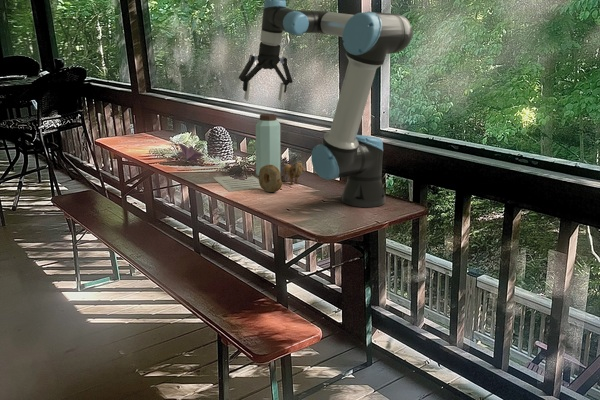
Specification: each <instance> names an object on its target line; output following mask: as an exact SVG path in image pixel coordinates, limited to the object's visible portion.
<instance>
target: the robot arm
mask: <svg viewBox="0 0 600 400" xmlns="http://www.w3.org/2000/svg"><path fill="white" fill-rule="evenodd" d="M262 10H263V11H262V19H261V20H262V21H261V30H260V38H259V39H260V40H259V41H260V42H259V47H258V55H253V54H250V55H249V57H248V61H247V63H246V64H245V66H244V68H243V70H242V71H241V72H240V75H239V76H238V79H239V80H240V82H243V84H242V90H243V92H244V95H243V96H244V97H243V98H244V100H245V101H247V102H249V97H250V87H251V83H250V81H251V80H252V79H253V77H255V76H256V75H257V74H258V73H259V71H261V70H274V71H275V72H276V74H277V75H278V77H279V79H280V80H281V82H280V84H279V93H278V100H279V102H281V103H282V102H284V96H285V93H286V92H287V88H288V85H289V84H292V83H293V78H292V75H291V73H290V69H289V66H288V58H287V57H285V56H282V57H280V54H281V53H280V52H281V45H280V44H282V39H283V38H282V36H283V32H286V33H288V34H290V35H292V36H302V35H303V34H320V35H327V36H329V35H330V36H335V37H341V38H342V39H341V40H342V41H343V42H342V44H343V48H344V49H345V51H346V52H345V57H346V58H347V59H348V63H347V68H346V71H345V75H344V77H343V82H342V85H341V89H340V91H339V96H338V100H337V104H336V108H335V112H334V115H333V118H332V122H331V126H330V130H329V131H327V132H325V133H324V134H323V139H322V141H321V142H322V143H321V144H320V143H319V144H317V145H316V146H314V147H313V149H312V150H311V158H310V159H311V164H312V167H313V170H314V172H315V173H316V175H318V177H320V178H321V179H323V180H336V179H340V178H345V177H346V178H347V179H346V180H347V181H346V183H345V186H344V189H343V192H342V195H341V202H342V203H343V204H345V205H347V206H352V207H357V208H358V207H359V208H375V207H380V206H383V205H385V204H386V194H385V189H384V185H383V182H382V174H383V173H382V172H383V157H384V156H383V155H384V143H383V140H382V139H381V138H379V137H377V136H376V137H375V136H370V135H365V134H364V135H362V134H358V133H359V129H360V126H361V121H362V118H363V117H364V111H365V108H366V106H367V105H366V104H367V102H368V99H369V95H370V91H371V88H372V85H373V82H374V79H375V76H376V72H377V69H378V68H380V67H382V66H383V65H384V62H385V60H386V56H387V55H389V54H391V55H392V54H396V53H399V52H402V51H404V50H405V49H406V48H407V47H408V46H409V45H410V43H411V40H412V38H413V27H412V24H411V22H410V21H409V19H408V18H406V17H405V16H404V15H402V14H400V13H394V12H391V13H389V12H388V13H387V12H373V11H365V12H358V13H355V14H348V13H340V12H334V11H333V12H332V11H327V10H305V9H292V8H288V7H287V2H286V0H264V4H263V7H262ZM256 61H257V63H256V65H254V63H255V62H256ZM279 63H280V64H282V65H281V66H282V68H283V71H284V75H285V76H284V75H283V73H282V71H281V69H280V68H279V66H278V64H279ZM253 65H254V67H253V68H252V66H253ZM251 68H252V69H251Z"/></svg>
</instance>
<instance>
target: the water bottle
mask: <svg viewBox="0 0 600 400" xmlns="http://www.w3.org/2000/svg"><path fill="white" fill-rule="evenodd" d="M265 165H274V166H276V167H277V168H278V169H279V171H280V172H281V123H280V122H279V121H278V119H277V114H275V113H273V114H272V113H264V114H259V120H258V121H257V123H255V174H256V176H257V177H258V176H259V172H260V169H261V168H262V167H263V166H265Z"/></svg>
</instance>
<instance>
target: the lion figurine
mask: <svg viewBox="0 0 600 400" xmlns="http://www.w3.org/2000/svg"><path fill="white" fill-rule="evenodd" d="M306 170H307V169H306V167H304V166H303V165H302V162H296V163H293V164H290V163H289V164H288V163H287V164H285V165H284V167H283V175H282V176H280V178H281V179H283V181H282V182H283V183H286V182H287V180H290V181H289V186H294V184H295V185H299V182H298V180H299V178H300V176H301V175H302V173H303V174H304V173H305V171H306ZM286 179H287V180H286ZM293 179H294V180H293ZM293 181H294V183H293Z"/></svg>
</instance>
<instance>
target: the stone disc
mask: <svg viewBox="0 0 600 400" xmlns="http://www.w3.org/2000/svg"><path fill="white" fill-rule="evenodd" d="M258 180H259V184H260V186H261V188H260V189H262V190H263V191H264V192H267V193H276V192H278V191H280V190H281V189H282V186H283V183H284V182H283V181H282V178H281V170H280V171H279V169H278V168H277V167H276V166H274V165H265V166H263V167H262V168H261V169H260V172H259V177H258Z"/></svg>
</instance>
